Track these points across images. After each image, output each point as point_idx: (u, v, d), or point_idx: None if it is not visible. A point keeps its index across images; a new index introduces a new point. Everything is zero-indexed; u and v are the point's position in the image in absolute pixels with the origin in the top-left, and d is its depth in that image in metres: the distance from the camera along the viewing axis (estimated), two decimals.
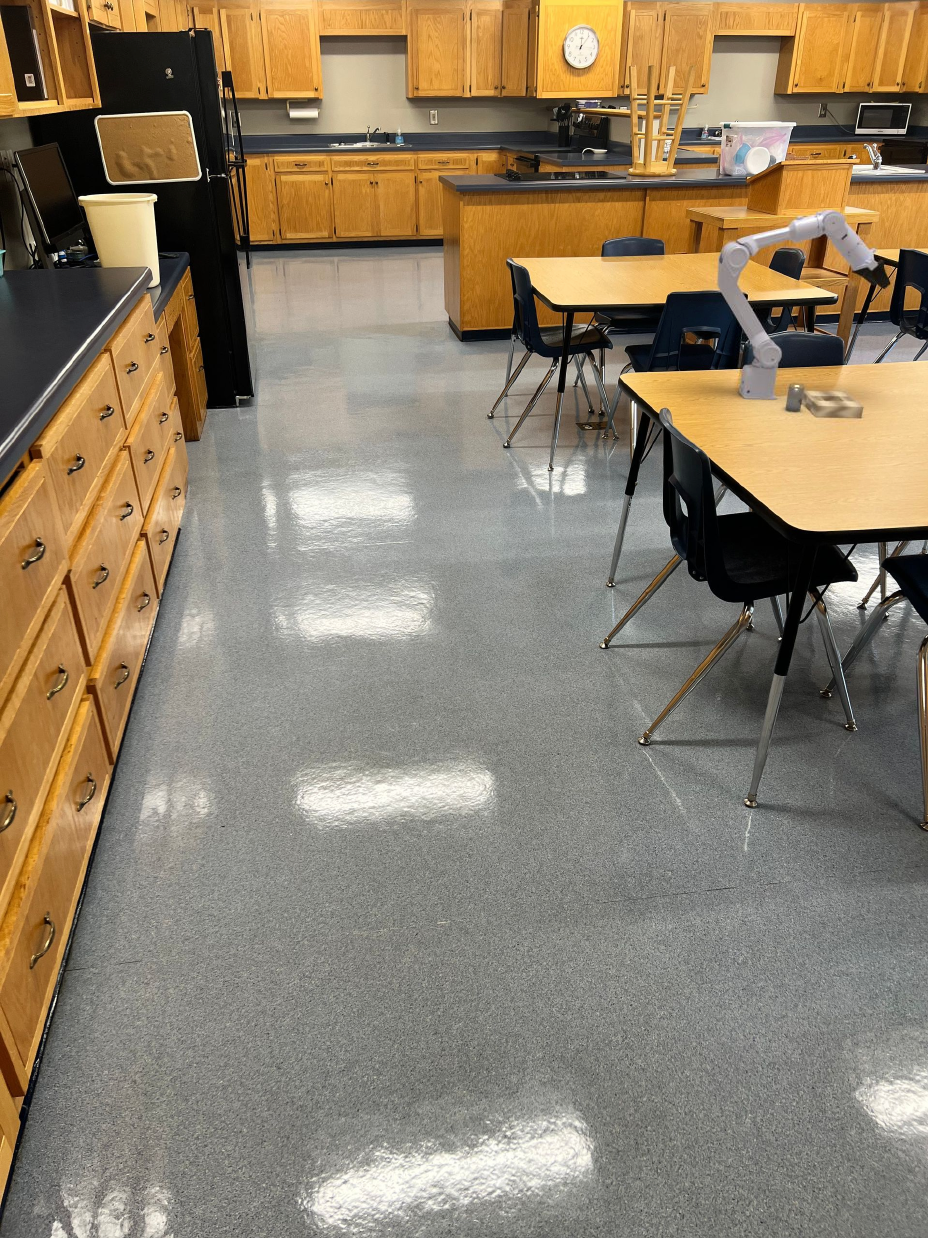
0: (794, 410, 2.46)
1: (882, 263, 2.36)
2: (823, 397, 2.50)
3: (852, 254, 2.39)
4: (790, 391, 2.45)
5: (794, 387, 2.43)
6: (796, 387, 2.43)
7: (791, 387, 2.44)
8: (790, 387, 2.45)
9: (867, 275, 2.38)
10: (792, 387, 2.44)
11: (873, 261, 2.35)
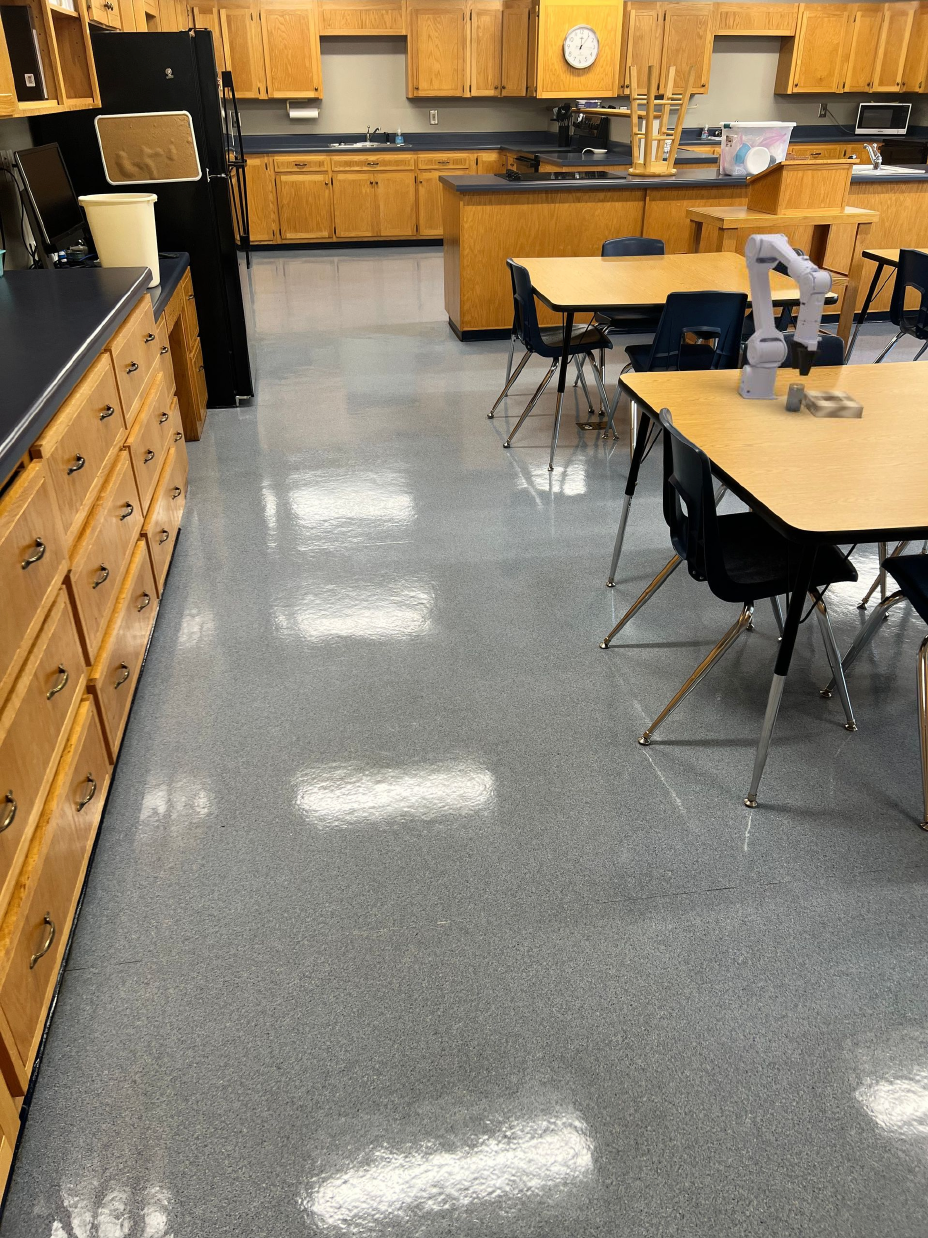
0: (794, 410, 2.46)
1: (818, 353, 2.35)
2: (823, 397, 2.50)
3: (806, 325, 2.35)
4: (790, 391, 2.45)
5: (794, 387, 2.43)
6: (796, 387, 2.43)
7: (791, 387, 2.44)
8: (790, 387, 2.45)
9: (801, 351, 2.35)
10: (792, 387, 2.44)
11: (815, 344, 2.32)
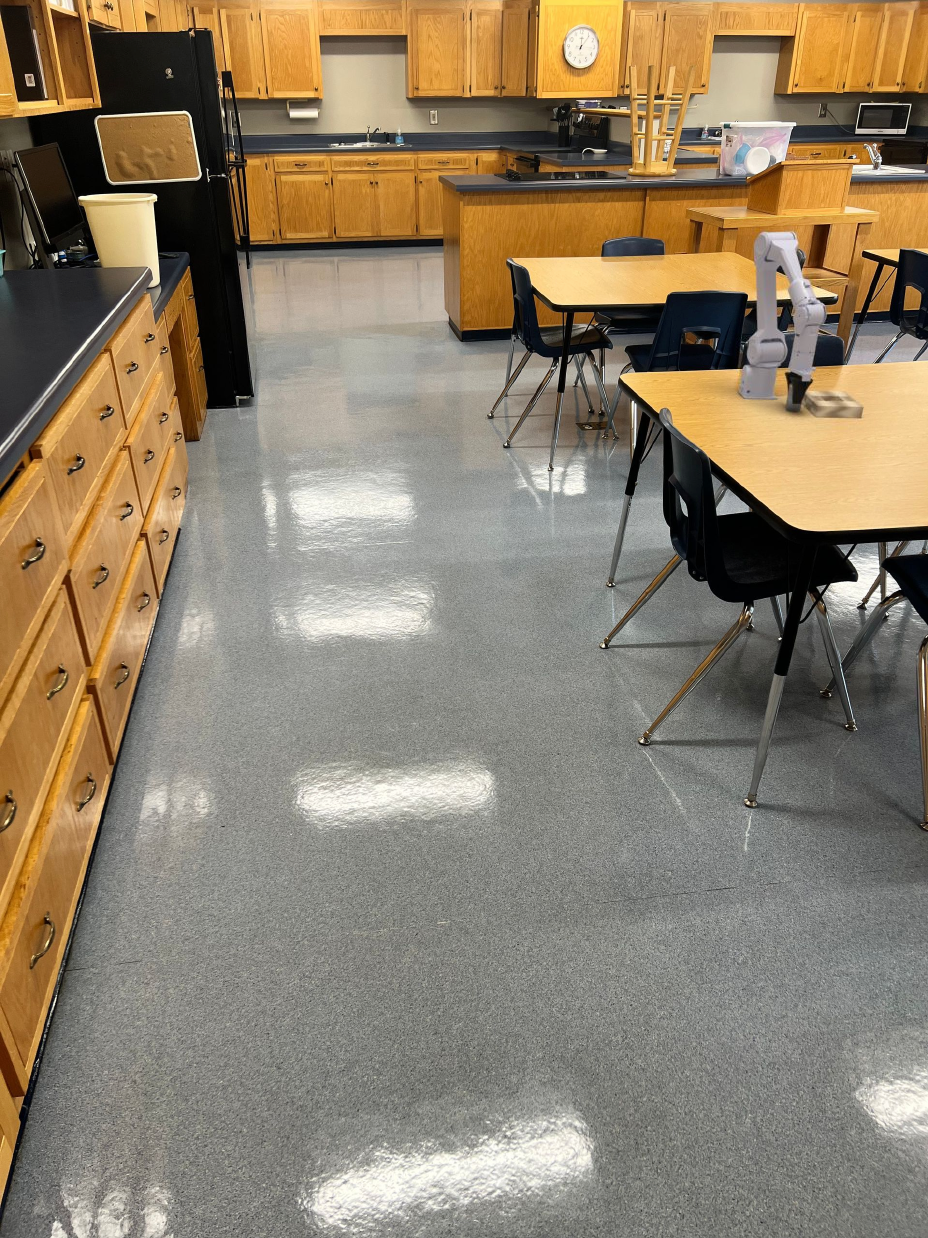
0: (794, 410, 2.46)
1: (810, 382, 2.40)
2: (823, 397, 2.50)
3: (800, 356, 2.39)
4: (790, 391, 2.45)
5: None
6: None
7: (791, 387, 2.44)
8: (790, 387, 2.45)
9: (794, 380, 2.40)
10: None
11: (809, 375, 2.36)
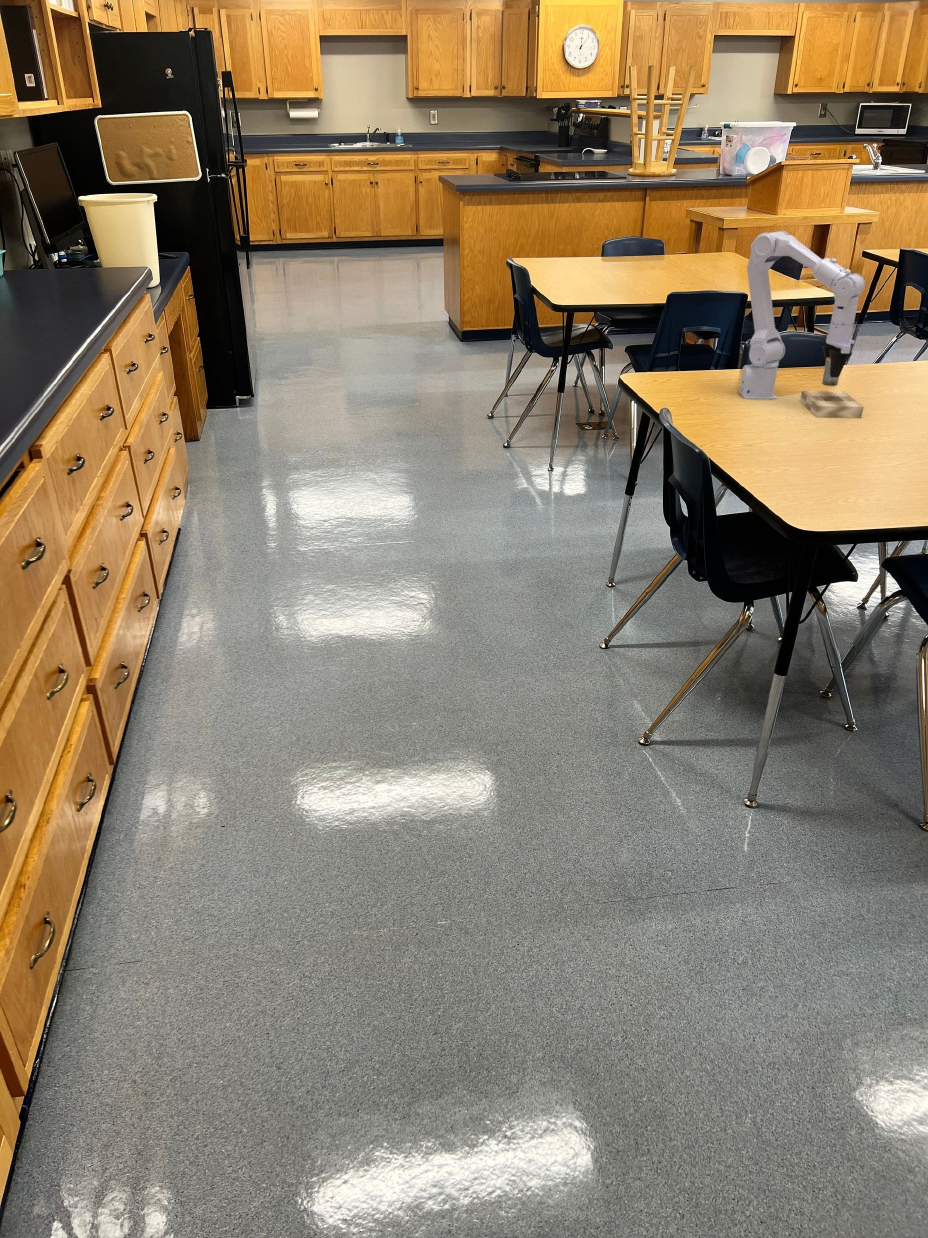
0: (832, 384, 2.43)
1: (849, 355, 2.37)
2: (823, 397, 2.50)
3: (839, 328, 2.36)
4: (827, 365, 2.42)
5: None
6: None
7: (828, 360, 2.41)
8: (827, 361, 2.42)
9: (832, 353, 2.37)
10: (829, 360, 2.41)
11: (849, 347, 2.33)
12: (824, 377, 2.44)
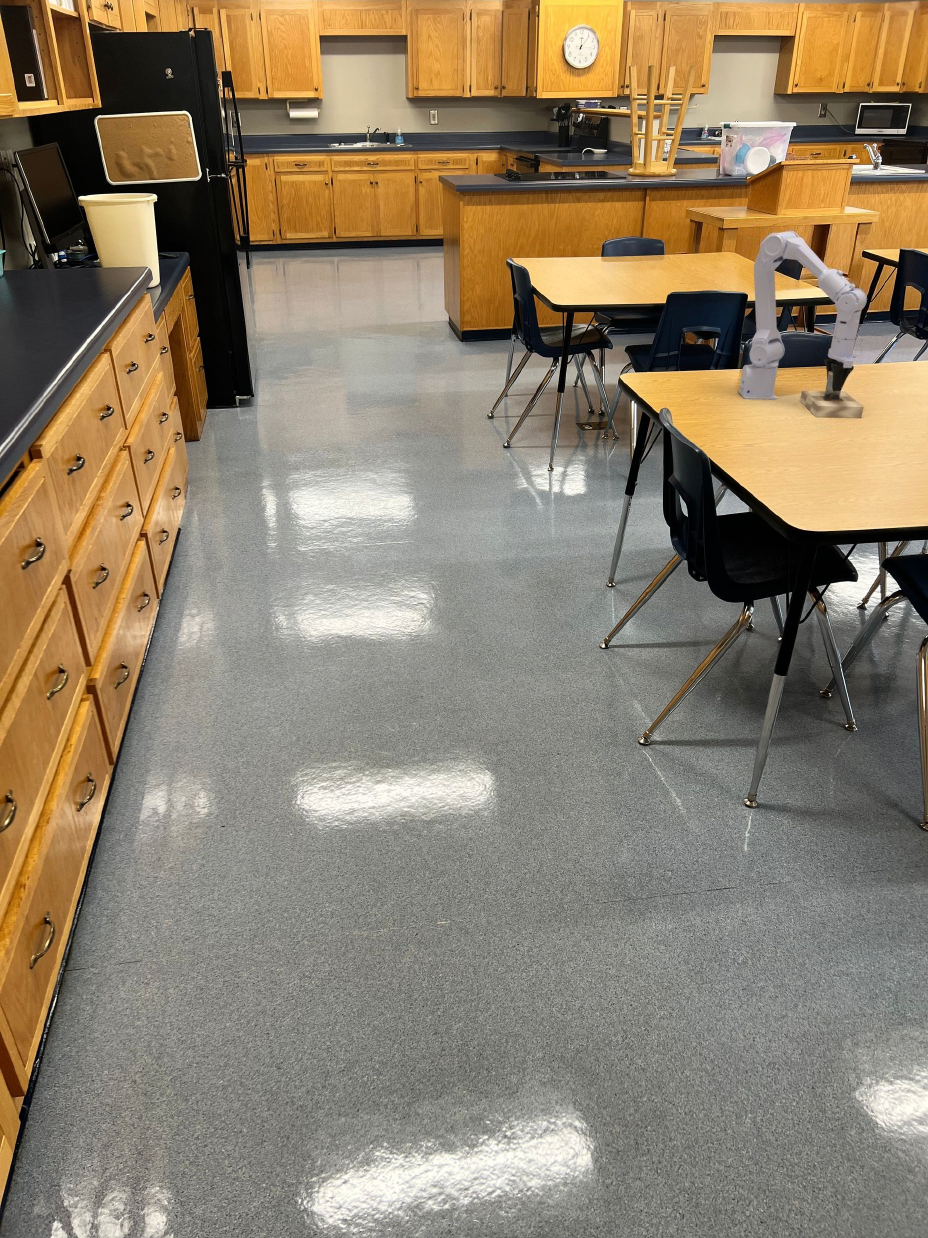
0: (834, 397, 2.45)
1: (851, 369, 2.39)
2: (823, 397, 2.50)
3: (841, 342, 2.38)
4: (830, 378, 2.44)
5: None
6: None
7: (831, 374, 2.43)
8: (830, 374, 2.44)
9: (835, 367, 2.39)
10: (832, 374, 2.43)
11: (851, 362, 2.35)
12: (826, 391, 2.46)
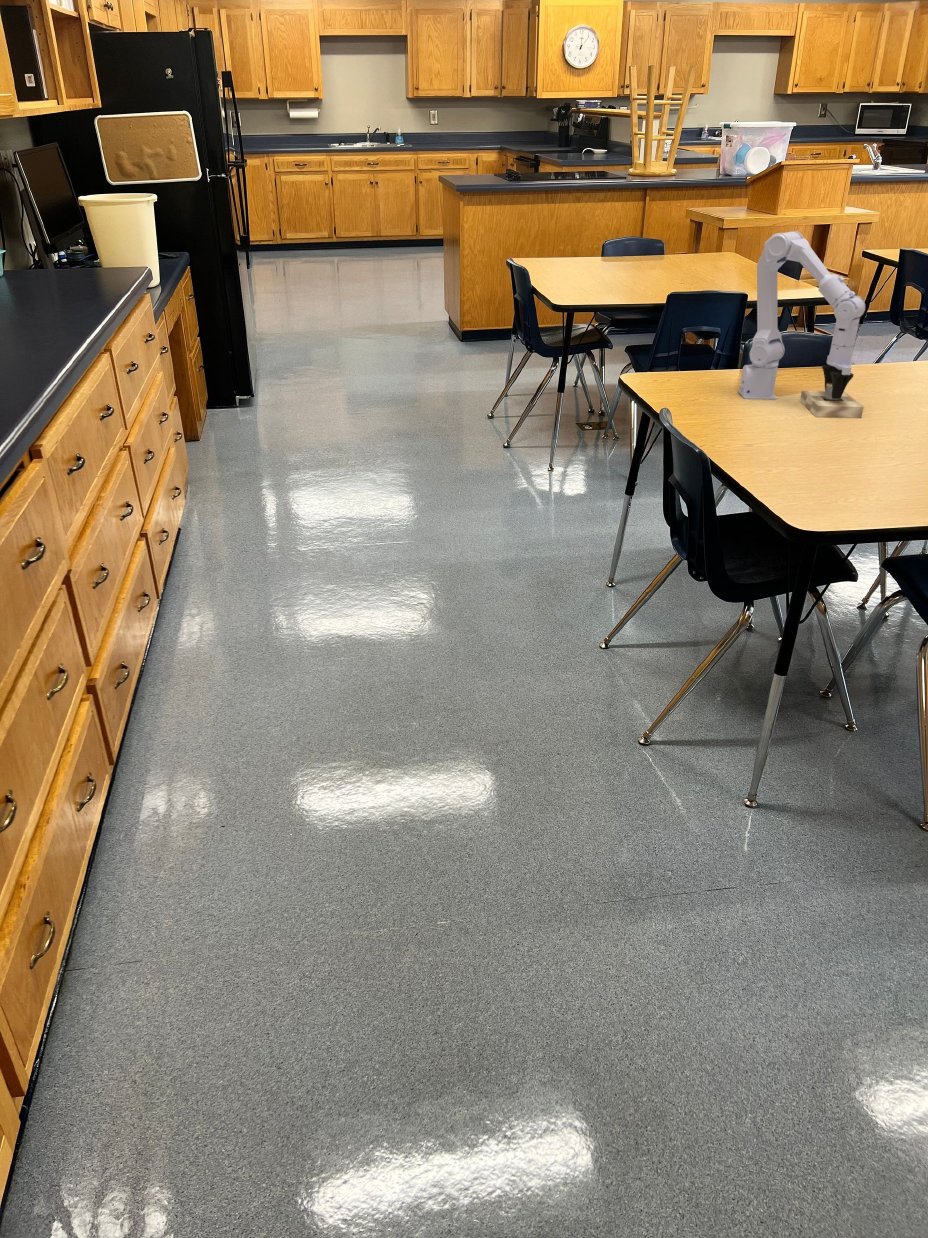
0: None
1: (851, 377, 2.39)
2: (823, 397, 2.50)
3: (840, 349, 2.39)
4: (827, 390, 2.45)
5: None
6: None
7: (828, 386, 2.45)
8: (827, 386, 2.45)
9: (834, 375, 2.39)
10: (830, 386, 2.45)
11: (849, 369, 2.36)
12: None
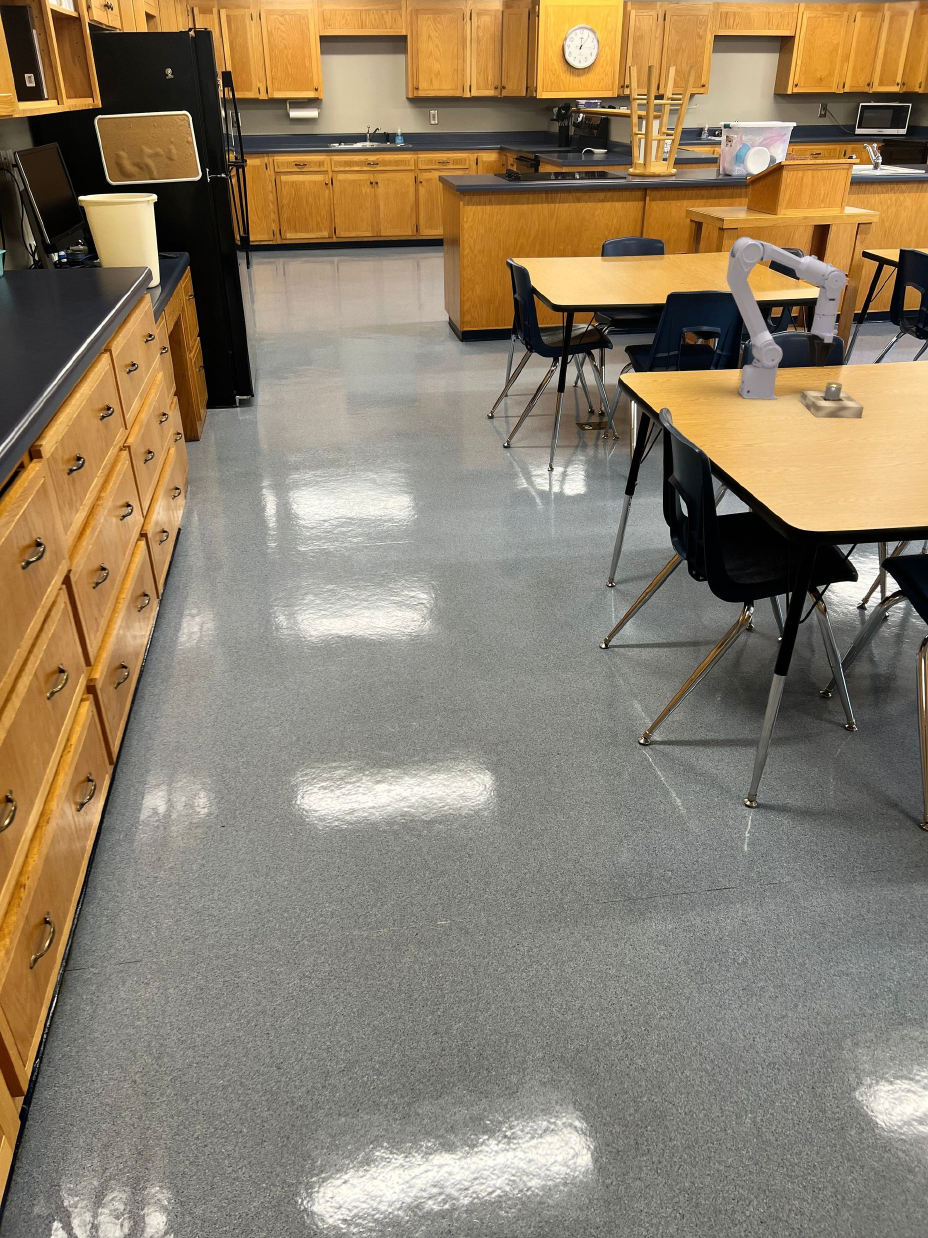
0: None
1: (834, 345, 2.48)
2: (823, 397, 2.50)
3: (822, 318, 2.48)
4: (827, 390, 2.45)
5: (832, 386, 2.44)
6: (834, 386, 2.44)
7: (829, 386, 2.45)
8: (827, 386, 2.45)
9: (818, 343, 2.48)
10: (830, 386, 2.45)
11: (831, 336, 2.46)
12: None
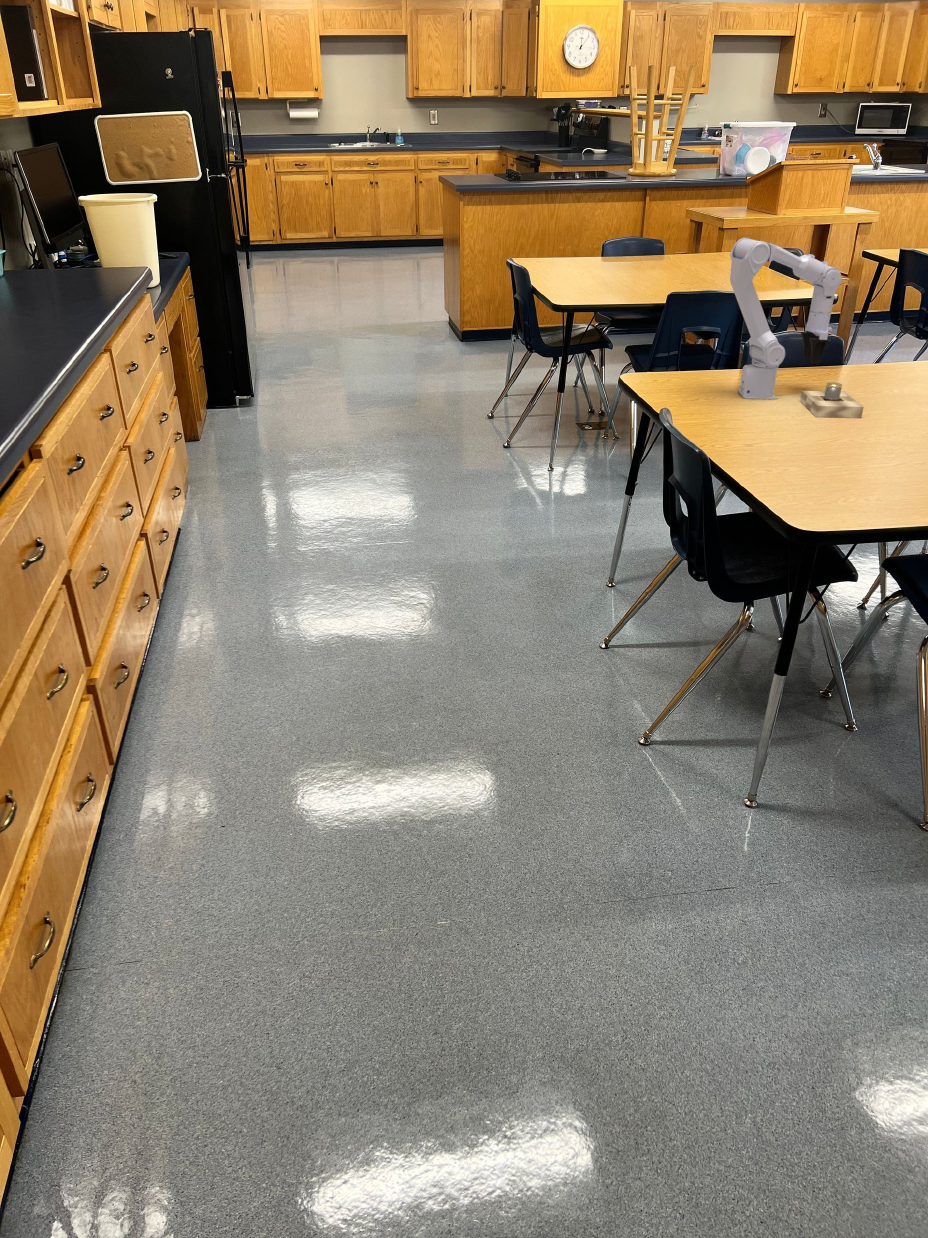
0: None
1: (829, 342, 2.51)
2: (823, 397, 2.50)
3: (817, 316, 2.51)
4: (827, 390, 2.45)
5: (832, 386, 2.44)
6: (834, 386, 2.44)
7: (828, 386, 2.45)
8: (827, 386, 2.45)
9: (813, 340, 2.51)
10: (830, 386, 2.45)
11: (826, 334, 2.49)
12: None
